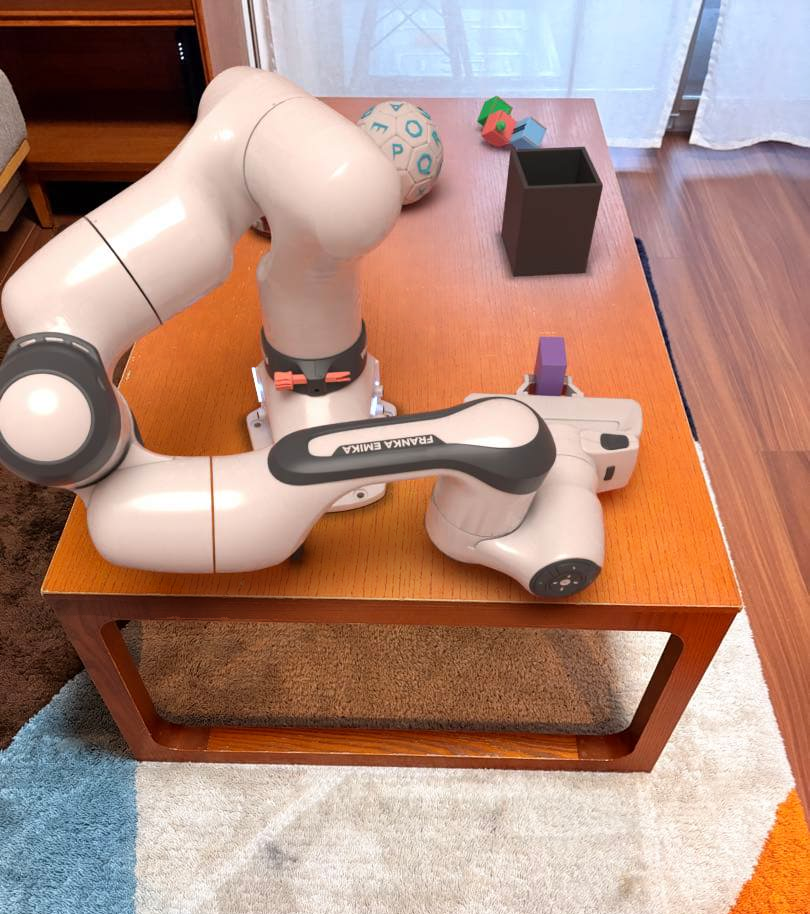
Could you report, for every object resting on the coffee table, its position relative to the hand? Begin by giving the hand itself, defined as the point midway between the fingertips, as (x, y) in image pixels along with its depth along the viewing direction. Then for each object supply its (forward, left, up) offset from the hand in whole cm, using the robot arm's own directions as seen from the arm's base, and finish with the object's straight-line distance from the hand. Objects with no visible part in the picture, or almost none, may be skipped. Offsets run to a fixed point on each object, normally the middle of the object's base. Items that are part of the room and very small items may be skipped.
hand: (547, 379), depth 97 cm
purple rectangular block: (-1, 0, -6) cm, 6 cm away
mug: (+48, +32, -7) cm, 58 cm away
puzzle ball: (+55, +13, -7) cm, 57 cm away
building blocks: (+72, -9, -7) cm, 73 cm away
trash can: (+37, -8, -7) cm, 39 cm away
